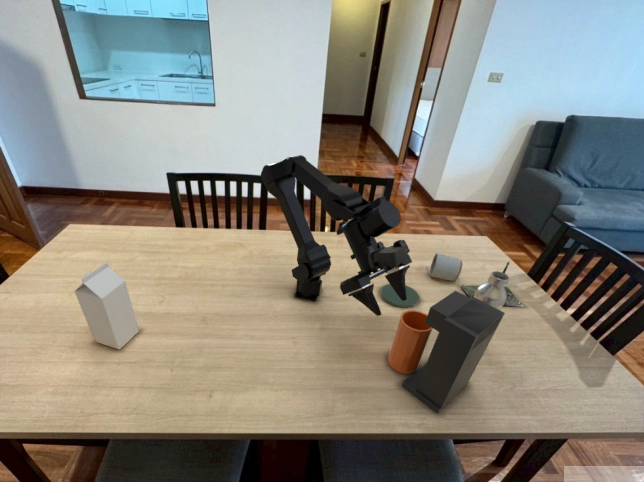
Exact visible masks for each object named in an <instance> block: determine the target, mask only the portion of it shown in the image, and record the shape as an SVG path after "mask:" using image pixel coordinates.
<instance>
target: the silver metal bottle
mask: <svg viewBox="0 0 644 482" xmlns="http://www.w3.org/2000/svg"><path fill="white" fill-rule="evenodd" d="M502 272H503V271H498V270H497V271H495V270H494V271H492V272H491V273H490V275H489V277H488V278H487V281H485V282H483V283H482V284H480V285H478V286H479V287H478V288H477V289H476V292H475V295H474V297H475V298H477V299H479V300H481V301H483V302H485V303H487V304H489V305H490V306H492V307H494V308H496V309H498V310H500V311H501V309H502V308H503V305H504V303H505V302H506V298H507V295H506V290H505V288H504V287H506V286H507V287H508V283H509V281H510V276H509V275H508V274H506V272H505V273H502Z"/></svg>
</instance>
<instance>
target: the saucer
mask: <svg viewBox="0 0 644 482" xmlns="http://www.w3.org/2000/svg"><path fill="white" fill-rule="evenodd" d="M405 286H406V297H407V299H406V300H405V301H402V300H401V299H400V297H399V296H398V295H397V293H396V292H395V290H394V289H393V288H392V286H391V285H390V283H388V284H385V285H383V286H382V287H381V289H380V297H381V299H382V300H383V301H384V302H385V303H387V304H389V305H391V306H394V307H397V308H401V309H402V308H403V309H407V308H412V307H415V306H416V305H418V303H419V300H420V296H419V294H418V292H417V291H416V290H415V289H414V288H412V287H411V286H408V285H406V284H405Z"/></svg>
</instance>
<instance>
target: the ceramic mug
mask: <svg viewBox="0 0 644 482" xmlns="http://www.w3.org/2000/svg"><path fill="white" fill-rule="evenodd" d="M462 268H463V260H462V259H460V258H457V257H455V256H450V255H446V254H444V253H439V252H437V253H435V254H434V256H433V258H432V260H431V264H430V267H429V273H428V274H429V277H430V278H436V279H441V280H445V281H451V282H452V281H456V280H458V279H459V277H460V275H461V272H462V270H463V269H462Z"/></svg>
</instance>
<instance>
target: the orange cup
mask: <svg viewBox="0 0 644 482" xmlns="http://www.w3.org/2000/svg"><path fill="white" fill-rule="evenodd" d="M427 315H428V313H424V312H422V311H419V310H415V309H412V310H409V309H408V310H406V311H403V312H402V313H401V314H400V315H399V316H400V317H399V319H398V323H397V326H396V330H395V333H394V336H393V340H392V343H391V345H390V346H391V347H390V350H389V352H388V357H387V362H388V365H389V366H390V367H391V368H392V369H393V370H394V371H396V372H397V373H400V374H405V375H407V374H409V375H410V374H414V373H415V372H416V371H417V370H418V368H419V366H420V363H421V361H422V359H423V356H424V354H425V351H426V348H427V346H428V343H429V341H430V338H431V336H432V334H433V333H432V332H433V330H434V329H433V328H432V327H430V326H428V325H427V324H425V321H426V318H427Z"/></svg>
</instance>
